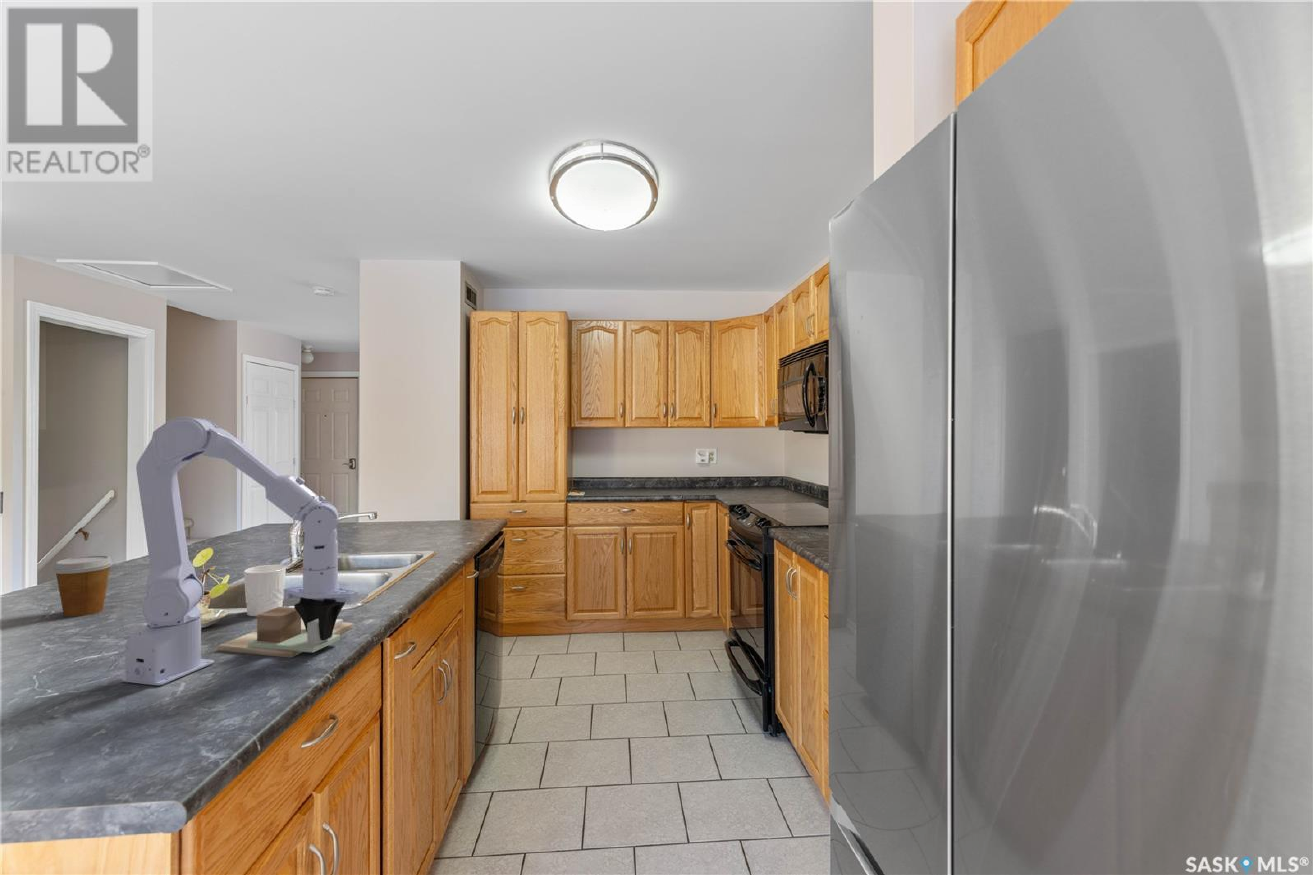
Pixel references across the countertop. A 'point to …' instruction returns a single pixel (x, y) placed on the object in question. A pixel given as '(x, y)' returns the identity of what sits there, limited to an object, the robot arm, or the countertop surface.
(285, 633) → the walnut block
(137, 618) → the countertop surface
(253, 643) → the green strip
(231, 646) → the base
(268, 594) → the white cup
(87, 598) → the disposable coffee cup
